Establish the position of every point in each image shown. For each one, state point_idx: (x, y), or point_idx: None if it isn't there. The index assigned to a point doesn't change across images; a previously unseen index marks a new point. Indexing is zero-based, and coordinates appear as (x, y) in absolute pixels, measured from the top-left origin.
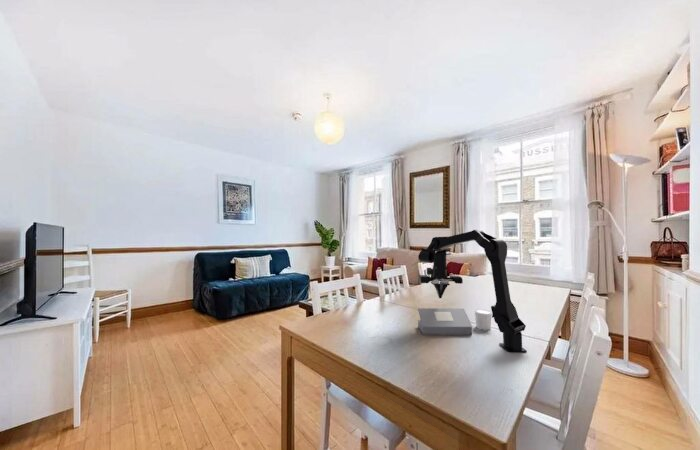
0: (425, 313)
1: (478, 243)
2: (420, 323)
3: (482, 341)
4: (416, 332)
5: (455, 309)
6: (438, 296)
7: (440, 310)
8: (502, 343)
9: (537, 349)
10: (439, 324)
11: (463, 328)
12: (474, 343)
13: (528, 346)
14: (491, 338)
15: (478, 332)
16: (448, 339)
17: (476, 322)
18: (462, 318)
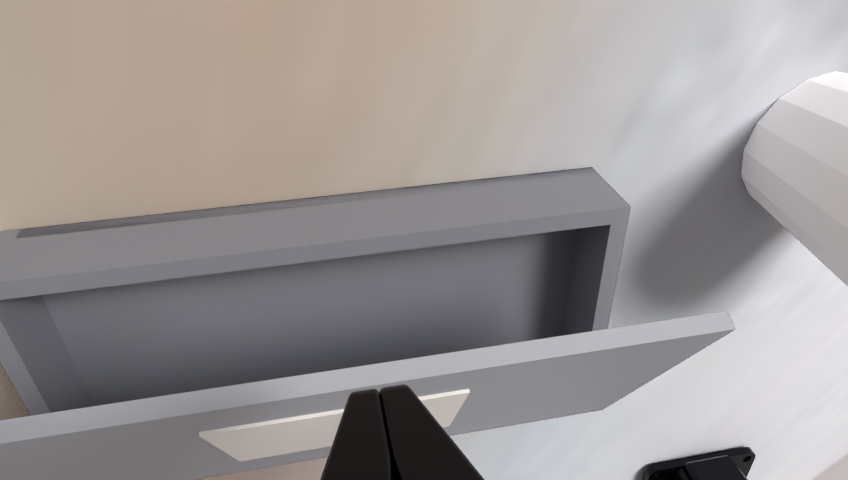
0: (48, 462)
1: None
2: (20, 395)
3: (573, 438)
4: (10, 384)
5: (586, 358)
6: (340, 429)
7: (318, 405)
8: (671, 470)
9: (811, 467)
10: (264, 462)
11: None
12: (498, 475)
13: (802, 444)
14: (675, 381)
15: (660, 283)
16: (326, 458)
17: (778, 175)
18: (574, 394)
